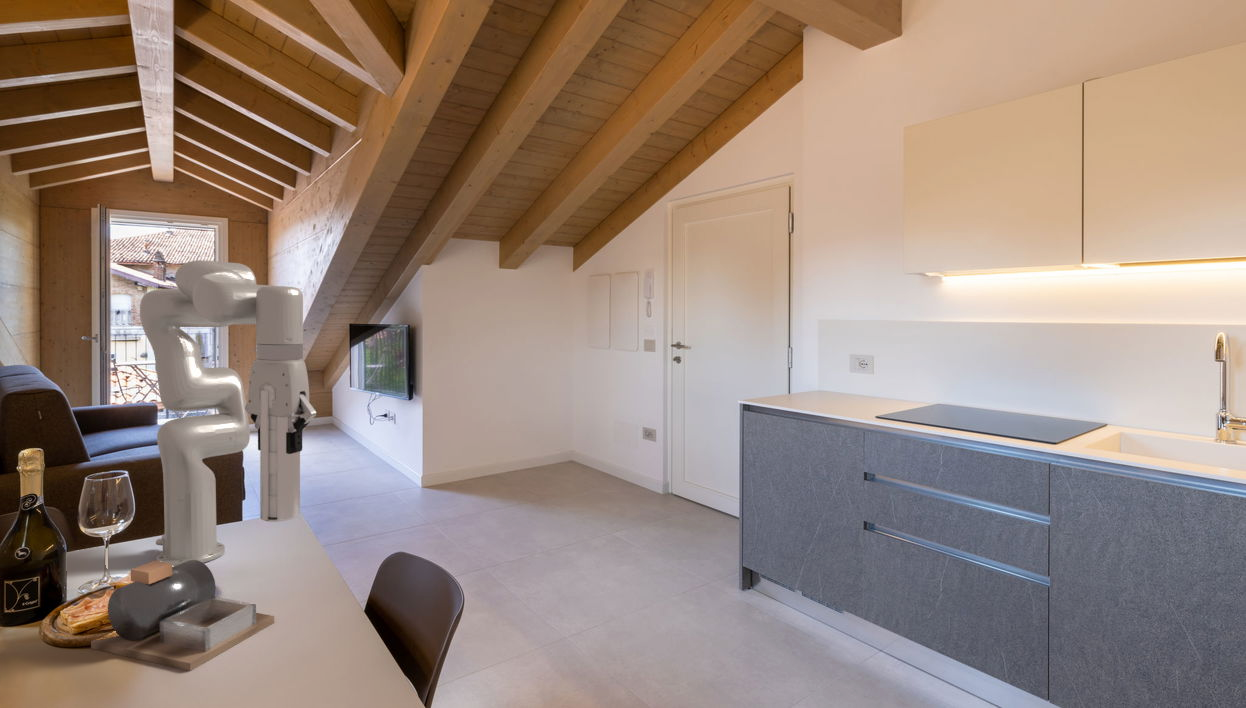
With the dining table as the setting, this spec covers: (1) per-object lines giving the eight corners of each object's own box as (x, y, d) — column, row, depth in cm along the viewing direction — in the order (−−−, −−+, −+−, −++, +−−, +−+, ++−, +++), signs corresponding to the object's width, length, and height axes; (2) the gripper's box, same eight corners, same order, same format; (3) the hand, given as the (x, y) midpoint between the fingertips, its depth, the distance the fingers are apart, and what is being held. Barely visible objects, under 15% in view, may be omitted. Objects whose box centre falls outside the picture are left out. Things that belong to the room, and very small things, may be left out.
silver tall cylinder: (307, 514, 118) (308, 383, 116) (276, 524, 112) (276, 386, 110) (284, 508, 121) (284, 380, 119) (252, 517, 115) (252, 383, 113)
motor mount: (91, 648, 102) (89, 576, 101) (184, 605, 117) (182, 542, 117) (190, 670, 96) (188, 594, 96) (274, 622, 112) (273, 556, 111)
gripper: (225, 352, 113) (225, 450, 114) (302, 357, 108) (302, 459, 110) (259, 350, 120) (259, 442, 122) (333, 355, 116) (333, 451, 117)
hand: (280, 449), depth 116 cm, fingers closed on silver tall cylinder, 5 cm apart
